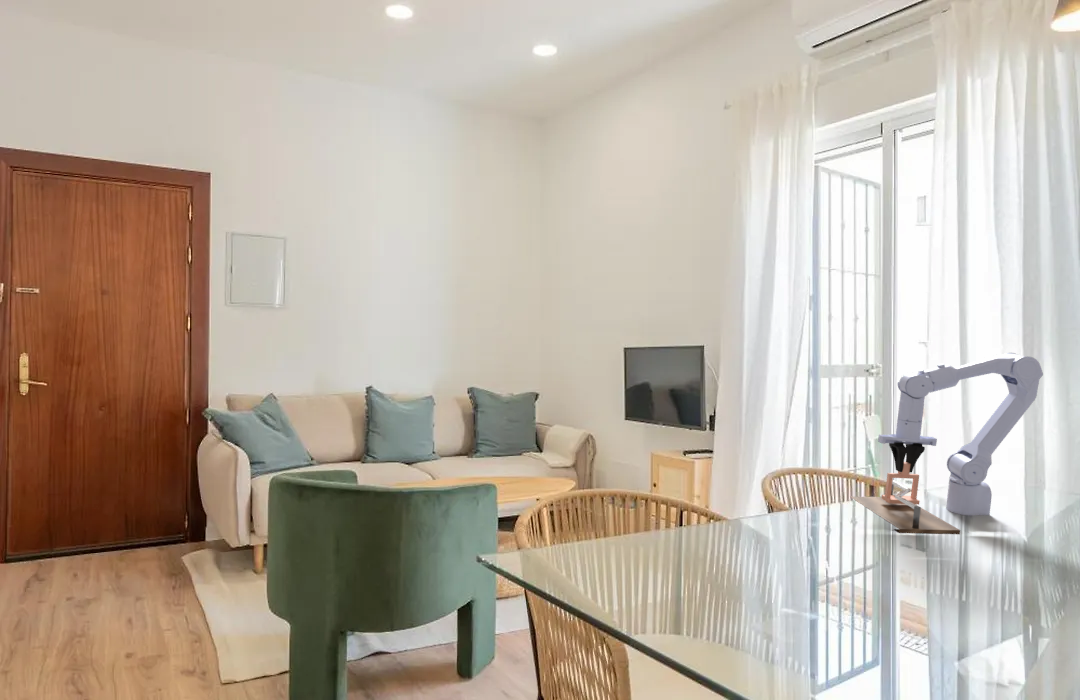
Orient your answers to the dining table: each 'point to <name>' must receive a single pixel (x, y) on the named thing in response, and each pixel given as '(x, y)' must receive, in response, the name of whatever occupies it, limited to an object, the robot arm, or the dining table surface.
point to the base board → (906, 517)
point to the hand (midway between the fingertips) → (903, 471)
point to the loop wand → (903, 474)
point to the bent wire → (907, 503)
